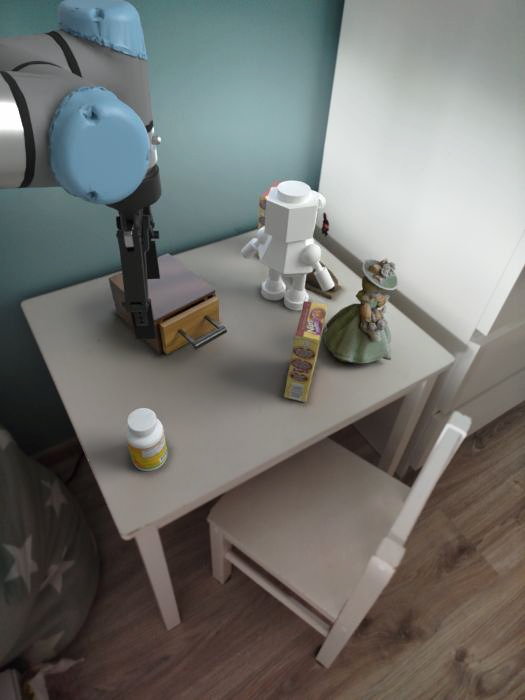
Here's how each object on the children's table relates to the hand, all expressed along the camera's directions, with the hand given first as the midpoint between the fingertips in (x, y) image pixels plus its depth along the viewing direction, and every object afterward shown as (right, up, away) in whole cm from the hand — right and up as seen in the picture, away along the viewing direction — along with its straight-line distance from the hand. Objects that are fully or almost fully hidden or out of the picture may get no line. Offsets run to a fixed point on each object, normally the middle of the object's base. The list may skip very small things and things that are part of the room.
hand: (149, 305), depth 69 cm
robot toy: (+21, +5, +32) cm, 39 cm away
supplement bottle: (-1, -23, +3) cm, 23 cm away
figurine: (+35, -7, +21) cm, 41 cm away
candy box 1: (+19, +18, +44) cm, 52 cm away
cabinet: (-3, 0, +25) cm, 25 cm away
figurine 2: (+27, +8, +36) cm, 46 cm away
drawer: (+1, -2, +22) cm, 22 cm away
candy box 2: (+24, -13, +15) cm, 31 cm away
